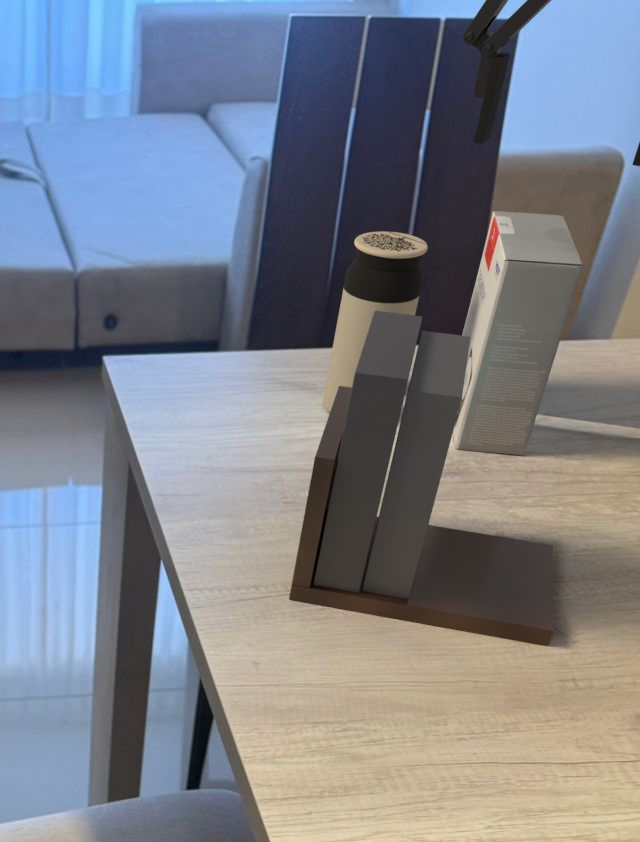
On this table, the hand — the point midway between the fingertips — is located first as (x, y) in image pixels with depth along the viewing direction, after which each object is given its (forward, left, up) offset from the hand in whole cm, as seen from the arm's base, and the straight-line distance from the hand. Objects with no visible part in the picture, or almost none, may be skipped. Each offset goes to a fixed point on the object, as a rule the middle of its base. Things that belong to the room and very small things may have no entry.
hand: (558, 151), depth 101 cm
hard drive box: (-1, -12, -30) cm, 32 cm away
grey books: (+8, +24, -28) cm, 38 cm away
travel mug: (+13, -11, -30) cm, 34 cm away
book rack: (+3, +24, -30) cm, 39 cm away
